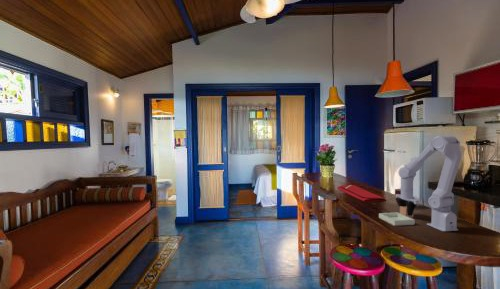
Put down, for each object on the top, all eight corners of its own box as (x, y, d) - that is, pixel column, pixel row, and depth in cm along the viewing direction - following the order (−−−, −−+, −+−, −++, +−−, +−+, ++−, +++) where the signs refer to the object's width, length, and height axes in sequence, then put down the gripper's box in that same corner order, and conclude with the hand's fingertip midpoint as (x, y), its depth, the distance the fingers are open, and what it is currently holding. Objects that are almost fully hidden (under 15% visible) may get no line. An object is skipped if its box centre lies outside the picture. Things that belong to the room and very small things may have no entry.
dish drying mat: (363, 202, 168) (364, 197, 168) (336, 189, 209) (336, 185, 208) (386, 201, 169) (386, 196, 169) (354, 188, 210) (354, 184, 210)
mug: (415, 209, 151) (415, 192, 150) (401, 209, 151) (401, 192, 150) (404, 204, 161) (405, 188, 161) (392, 204, 161) (392, 188, 161)
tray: (414, 224, 125) (414, 219, 125) (394, 225, 123) (394, 220, 123) (397, 216, 137) (397, 212, 137) (378, 218, 135) (378, 213, 135)
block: (413, 217, 136) (413, 208, 135) (405, 217, 135) (406, 208, 135) (407, 214, 140) (407, 206, 140) (399, 215, 139) (399, 206, 139)
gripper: (424, 191, 130) (423, 217, 131) (403, 186, 145) (403, 209, 145) (412, 192, 129) (411, 218, 130) (392, 186, 144) (392, 210, 144)
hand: (406, 213), depth 138 cm, fingers closed on block, 4 cm apart
